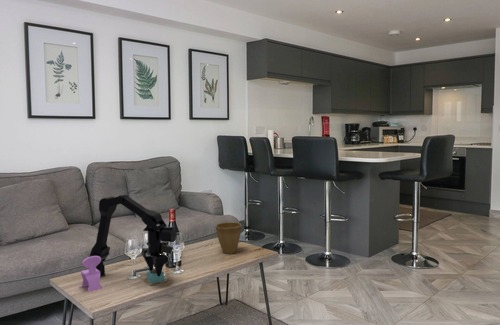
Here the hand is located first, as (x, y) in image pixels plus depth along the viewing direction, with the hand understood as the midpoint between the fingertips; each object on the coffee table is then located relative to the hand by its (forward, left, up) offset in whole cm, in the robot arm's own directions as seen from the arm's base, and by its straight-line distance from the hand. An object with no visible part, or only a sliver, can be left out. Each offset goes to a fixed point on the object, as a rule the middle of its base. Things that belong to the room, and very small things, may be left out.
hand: (155, 273), depth 190 cm
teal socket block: (0, 0, -3) cm, 3 cm away
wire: (-1, +11, -4) cm, 12 cm away
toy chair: (-26, +11, -4) cm, 29 cm away
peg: (0, 0, -4) cm, 4 cm away
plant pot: (+53, +20, -4) cm, 57 cm away
